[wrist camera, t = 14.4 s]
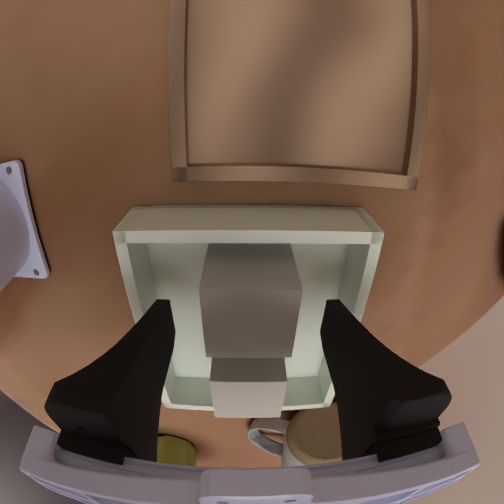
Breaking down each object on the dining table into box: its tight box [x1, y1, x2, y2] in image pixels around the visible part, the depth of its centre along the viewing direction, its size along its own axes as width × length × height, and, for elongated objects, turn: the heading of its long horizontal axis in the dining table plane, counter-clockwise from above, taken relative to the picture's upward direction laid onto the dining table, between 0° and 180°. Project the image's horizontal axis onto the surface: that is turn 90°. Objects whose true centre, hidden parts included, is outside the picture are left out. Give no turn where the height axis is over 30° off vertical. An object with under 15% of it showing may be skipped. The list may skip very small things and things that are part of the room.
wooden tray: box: [168, 0, 430, 190], centre depth 10 cm, size 12×14×1 cm
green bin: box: [112, 204, 385, 411], centre depth 17 cm, size 12×14×3 cm
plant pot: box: [157, 435, 196, 466], centre depth 25 cm, size 9×9×9 cm
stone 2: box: [210, 357, 287, 418], centre depth 17 cm, size 4×4×4 cm
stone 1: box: [199, 243, 303, 358], centre depth 15 cm, size 4×4×4 cm
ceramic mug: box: [248, 402, 342, 467], centre depth 23 cm, size 11×8×8 cm
